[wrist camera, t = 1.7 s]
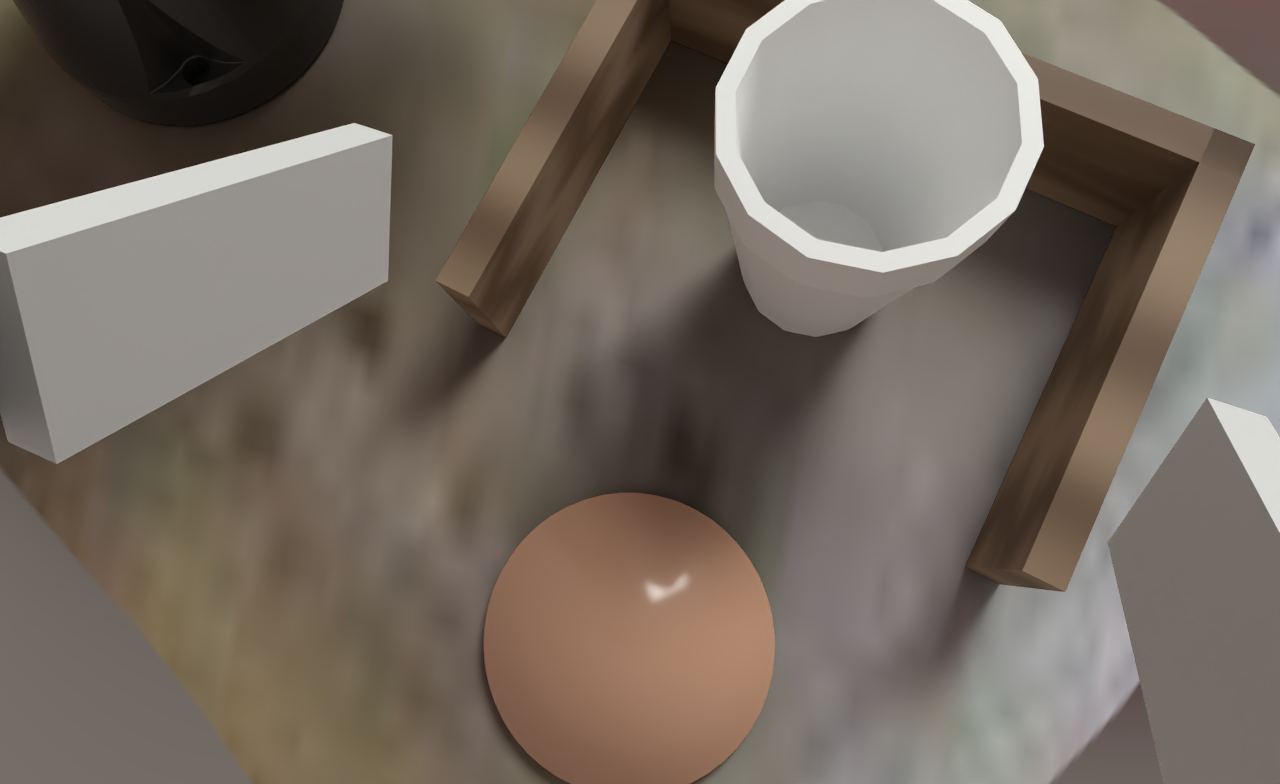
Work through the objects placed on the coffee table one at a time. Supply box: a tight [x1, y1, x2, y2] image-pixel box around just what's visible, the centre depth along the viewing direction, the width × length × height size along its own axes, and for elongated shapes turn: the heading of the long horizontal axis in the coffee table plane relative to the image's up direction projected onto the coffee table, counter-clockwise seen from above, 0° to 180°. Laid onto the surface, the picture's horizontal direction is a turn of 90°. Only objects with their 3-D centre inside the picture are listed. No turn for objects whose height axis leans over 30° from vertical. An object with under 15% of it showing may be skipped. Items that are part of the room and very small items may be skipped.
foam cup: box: [714, 0, 1044, 337], centre depth 30 cm, size 10×9×13 cm
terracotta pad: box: [484, 493, 775, 784], centre depth 33 cm, size 12×12×1 cm
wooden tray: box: [435, 0, 1255, 592], centre depth 33 cm, size 18×25×6 cm
